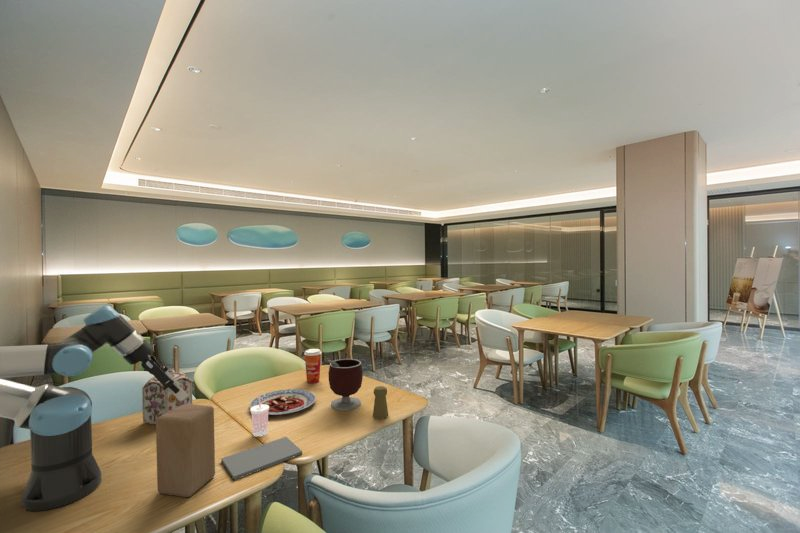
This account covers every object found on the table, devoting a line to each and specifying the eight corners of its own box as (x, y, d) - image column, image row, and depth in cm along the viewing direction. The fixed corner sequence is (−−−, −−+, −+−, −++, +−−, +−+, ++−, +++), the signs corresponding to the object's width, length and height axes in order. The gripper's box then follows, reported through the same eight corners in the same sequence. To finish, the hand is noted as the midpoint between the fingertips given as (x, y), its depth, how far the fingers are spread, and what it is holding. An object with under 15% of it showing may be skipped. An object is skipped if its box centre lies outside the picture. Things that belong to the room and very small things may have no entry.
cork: (391, 415, 140) (391, 386, 140) (380, 420, 136) (380, 391, 135) (380, 410, 144) (380, 383, 144) (369, 415, 140) (369, 387, 140)
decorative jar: (141, 423, 134) (140, 374, 134) (169, 410, 146) (168, 365, 145) (167, 427, 131) (166, 377, 131) (193, 413, 142) (192, 368, 142)
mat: (233, 480, 100) (233, 476, 100) (221, 461, 109) (221, 458, 109) (302, 454, 113) (302, 451, 113) (286, 439, 122) (286, 436, 122)
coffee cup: (301, 383, 176) (301, 352, 176) (308, 377, 184) (308, 348, 184) (318, 384, 175) (317, 353, 174) (324, 378, 183) (324, 348, 183)
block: (189, 499, 92) (187, 420, 91) (155, 494, 94) (153, 417, 93) (216, 476, 102) (215, 405, 101) (185, 472, 104) (184, 402, 103)
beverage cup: (270, 428, 130) (270, 389, 129) (268, 436, 124) (267, 395, 123) (252, 430, 128) (251, 390, 128) (249, 438, 122) (248, 397, 122)
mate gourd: (350, 395, 161) (350, 350, 160) (369, 404, 150) (369, 356, 150) (319, 404, 150) (318, 356, 150) (337, 415, 140) (336, 363, 140)
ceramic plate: (279, 425, 132) (279, 417, 132) (236, 410, 146) (236, 402, 146) (328, 401, 154) (328, 394, 154) (287, 390, 168) (286, 383, 168)
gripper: (150, 346, 108) (198, 393, 116) (140, 333, 127) (183, 374, 135) (124, 365, 104) (176, 412, 112) (119, 348, 123) (164, 390, 131)
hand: (180, 392), depth 124 cm, fingers open, 13 cm apart
